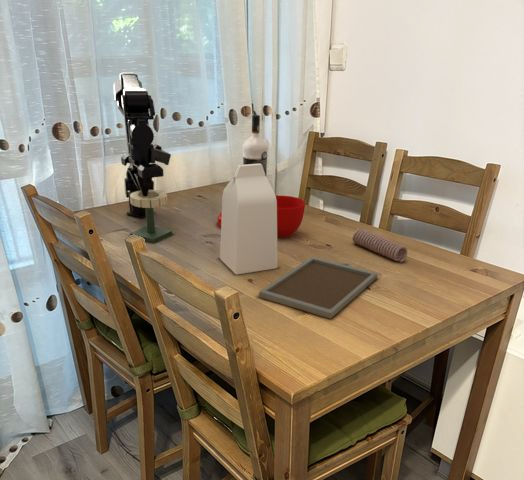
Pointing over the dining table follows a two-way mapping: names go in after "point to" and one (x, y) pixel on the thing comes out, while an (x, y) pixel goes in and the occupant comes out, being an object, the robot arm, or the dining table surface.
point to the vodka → (255, 146)
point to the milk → (249, 222)
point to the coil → (380, 245)
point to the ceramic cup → (289, 215)
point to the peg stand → (152, 229)
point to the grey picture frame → (319, 286)
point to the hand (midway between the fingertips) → (143, 195)
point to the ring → (148, 199)
